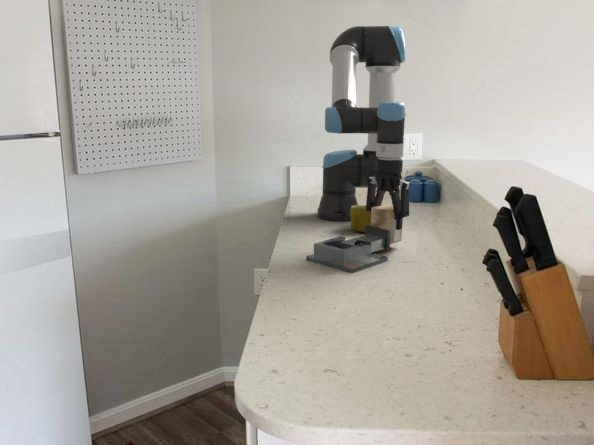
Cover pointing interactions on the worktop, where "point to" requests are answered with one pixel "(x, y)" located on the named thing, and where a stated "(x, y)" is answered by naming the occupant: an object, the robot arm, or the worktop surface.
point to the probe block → (384, 219)
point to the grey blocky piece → (370, 239)
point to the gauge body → (344, 255)
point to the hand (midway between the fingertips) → (385, 237)
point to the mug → (360, 218)
